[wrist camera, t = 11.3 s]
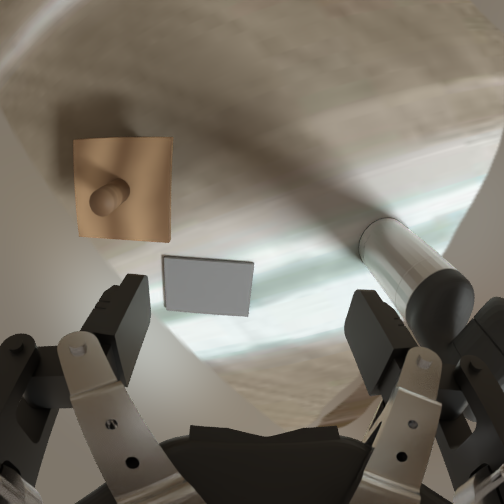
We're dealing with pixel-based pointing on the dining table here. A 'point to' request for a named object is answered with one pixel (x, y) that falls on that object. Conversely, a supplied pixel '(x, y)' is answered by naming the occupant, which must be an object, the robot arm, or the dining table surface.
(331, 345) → the dining table surface
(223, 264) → the mat
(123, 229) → the lid
